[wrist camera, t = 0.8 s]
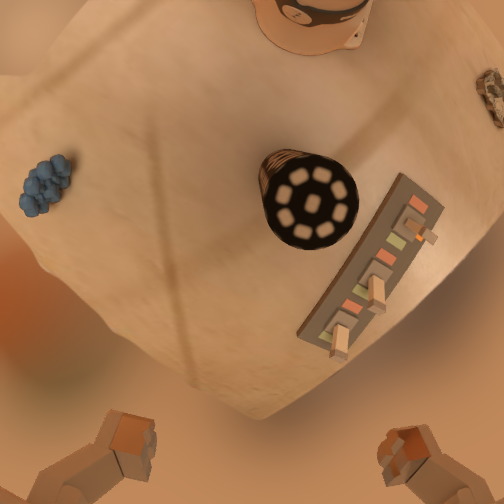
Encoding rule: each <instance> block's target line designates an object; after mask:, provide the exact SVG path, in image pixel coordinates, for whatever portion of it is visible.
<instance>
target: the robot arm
mask: <svg viewBox="0 0 504 504" xmlns="http://www.w3.org/2000/svg"><path fill="white" fill-rule="evenodd" d="M251 1H252V3H253V4H254V6H255V9H256V18H257V21H258V24H259V26H260V28H261V30H262V32H263V33H264V34H265V35H266V37H267V38H268V39H269V40H271V41H272V42H273V43H274V44H276V45H277V46H279V47H281V48H283V49H285V50H287V51H290V52H292V53H296V54H301V55H320V54H325V53H328V52H331V51H333V50H336V49H357V48H358V47H359V46H360V44H361V42H362V39H363V35H364V32H365V28H366V25H367V21H368V18H369V14H370V11H371V7H372V4H373V0H251ZM355 34H356V35H357V37H354V35H355ZM154 428H155V422H154V420H153V419H149V418H145V417H140V416H136V415H132V414H128V413H124V412H120V411H116V410H112V409H111V410H109V411H108V413H107V415H106V417H105V419H104V421H103V424H102V426H101V428H100V430H99V433H98V435H97V437H96V440H95V442H94V444H90V443H89V444H88V445H86V446H84V447H83V448H81V449H79V450H77V451H76V452H74V453H72V454H71V455H69V456H67V457H65V458H64V459H62V460H60V461H58V462H57V463H55V464H53V465H51V466H49V467H48V468H46V469H44V470H42V471H40V472H39V475H38V476H37V479H36V481H35V483H34V485H33V487H32V489H31V491H30V494H29V496H28V498H27V500H24V499H22V498H20V497H18V496H16V495H15V494H13V493H11V492H9V491H7V490H6V489H4V488H2V487H0V504H93V503H94V502H96V501H97V500H98V499H99V498H101V497H102V496H103V495H104V494H106V493H107V492H108V491H109V490H111V488H113V487H114V486H115V485H116V484H118V483H119V482H120V481H121V480H123V479H124V477H126V478H130V479H134V480H139V481H144V482H148V480H149V476H150V472H151V468H152V467H151V462H150V460H151V459H152V458H154V456H155V452H156V446H157V436H156V432H154ZM386 436H387V439H385V440H384V441H383V442H381V444H380V445H379V447H378V452H377V459H378V462H379V465H381V466H382V467H383V468H384V470H383V472H382V475H383V478H384V481H385V484H386V486H387V487H388V486H394V485H400V484H405V485H406V486H407V487H408V488H409V489H410V490H411V491H412V492H413V493H414V494H416V495H417V496H418V497H419V498H420V499H421V500H422V501H423V502H424V503H425V504H504V498H502V499H500V500H498V501H496V502H495V500H494V498H493V496H492V494H491V492H490V490H489V487H488V485H487V483H486V481H485V479H483V478H482V477H480V476H479V475H477V474H476V473H474V472H472V471H471V470H469V469H468V468H466V467H465V466H463V465H462V464H460V463H459V462H457V461H455V460H454V459H453V458H451V457H450V456H448V455H447V454H442V452H441V450H440V448H439V446H438V444H437V442H436V440H435V438H434V436H433V434H432V432H431V430H430V428H429V426H428V425H426V424H423V425H417V426H408V427H402V428H394V429H391V430H390V431H388V433H387V434H386Z"/></svg>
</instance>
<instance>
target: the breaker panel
mask: <svg viewBox="0 0 504 504" xmlns="http://www.w3.org/2000/svg"><path fill="white" fill-rule="evenodd" d="M444 208H445V207H444V206H442V205H441V204H440V203H439V202H438V201H437V200H435V199H434V198H433V197H432V196H431V195H429V194H428V193H427V192H426V191H424V190H423V189H422V188H421V187H419V186H418V185H417V184H416V183H414V182H413V181H412V180H411V179H409V178H408V177H407V176H405V175H404V174H401V173H399V175H398V176H397V178H396V180H395V182H394V184H393V185H392V187H391V189H390V190H389V192H388V194H387V196H386V197H385V199H384V201H383V202H382V204H381V206H380V207H379V209H378V211H377V212H376V214H375V216H374V217H373V219H372V221H371V222H370V224H369V226H368V227H367V229H366V230H365V232H364V234H363V235H362V237H361V238H360V240H359V242H358V243H357V245H356V246H355V248H354V249H353V251H352V253H351V254H350V256H349V257H348V259H347V260H346V262H345V263H344V265H343V266H342V268H341V269H340V271H339V272H338V274H337V275H336V277H335V278H334V280H333V281H332V283H331V284H330V286H329V287H328V289H327V290H326V292H325V293H324V295H323V296H322V298H321V299H320V300H319V302H318V303H317V305H316V306H315V308H314V309H313V310H312V312H311V313H310V315H309V316H308V317H307V319H306V320H305V322H304V323H303V324H302V326H301V327H300V329H299V330H298V331H297V337H298V338H300V339H302V340H304V341H307V342H309V343H312V344H314V345H316V346H319V347H321V348H323V349H326V350H328V351H331V346H332V338H333V330H334V327H335V326H336V325H338V324H339V325H341V326H343V327H345V328H348V329H349V338H348V349H349V348H350V346H351V345H352V344H353V343H354V341H355V340H356V339H357V338H358V336H359V335H360V334H361V333H362V331H363V330H364V329H365V327H366V326H367V325H368V323H369V322H370V321H371V319H372V318H373V317H374V315H375V314H376V313H374V312H372V311H370V310H368V309H367V303H368V286H369V278H370V277H371V276H372V275H375V276H376V277H378V278H380V279H382V280H383V281H384V289H385V300H386V299H387V298H388V296H389V295H390V293H391V292H392V291H393V289H394V288H395V286H396V285H397V283H398V282H399V280H400V279H401V278H402V276H403V275H404V273H405V272H406V270H407V269H408V267H409V266H410V264H411V262H412V261H413V259H414V258H415V256H416V255H417V253H418V252H419V250H420V248H421V247H422V245H423V244H424V242H425V239H424V238H422V237H421V236H420V235H418V234H417V233H415V232H414V231H412V230H411V229H410V228H408V227H407V226H405V223H406V222H407V220H408V218H409V219H411V220H412V221H414V222H416V223H418V224H419V225H421V226H424V227H426V228H427V229H429V230H430V231H431V230H432V229H433V227H434V225H435V224H436V222H437V220H438V218H439V217H440V215H441V213H442V211H443V210H444ZM348 349H347V350H348Z"/></svg>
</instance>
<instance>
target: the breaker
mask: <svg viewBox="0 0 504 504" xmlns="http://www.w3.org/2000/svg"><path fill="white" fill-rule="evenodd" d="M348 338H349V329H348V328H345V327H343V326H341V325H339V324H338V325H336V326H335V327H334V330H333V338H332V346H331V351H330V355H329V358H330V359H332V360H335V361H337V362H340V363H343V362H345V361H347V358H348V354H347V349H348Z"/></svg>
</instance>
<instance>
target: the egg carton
mask: <svg viewBox="0 0 504 504" xmlns="http://www.w3.org/2000/svg"><path fill="white" fill-rule="evenodd" d="M485 76H486V78H483V79H478V80H477V81H476V82H477V89H476V90H477V92H478V94H483V95H484V96H485V98H486V105H485V106H486V108H487V110H492V111H493V113H494V116H495V119H494V124H495V125H496V126H500V127H501V128H504V118H503V122H502V120H501V119H502V115H501V112H502V110H503V108H502V105H501V103H500V102H498V101H497V102H496V103H495V104H494V102H495V99H494V98H498V97H502V96H503V101H504V78H503V77H502V76H501V74H500V73H499V71H498V69H497V68H496V69H493V71H489V72H486V73H485ZM494 78H495V81H494V83H495V85H492V84H491V85H492V86H488V87H487V88H486V87H485V82H490V81H493V80H494ZM493 106H495V107H493Z"/></svg>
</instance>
